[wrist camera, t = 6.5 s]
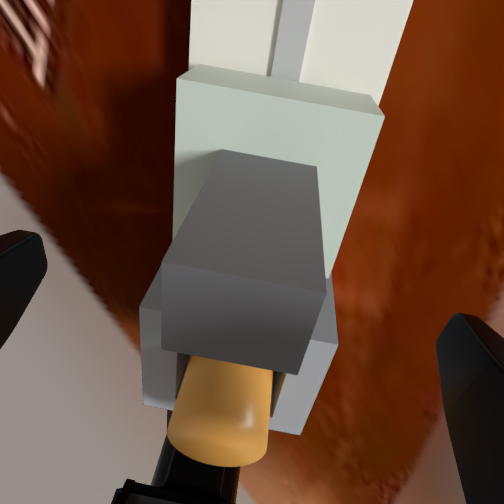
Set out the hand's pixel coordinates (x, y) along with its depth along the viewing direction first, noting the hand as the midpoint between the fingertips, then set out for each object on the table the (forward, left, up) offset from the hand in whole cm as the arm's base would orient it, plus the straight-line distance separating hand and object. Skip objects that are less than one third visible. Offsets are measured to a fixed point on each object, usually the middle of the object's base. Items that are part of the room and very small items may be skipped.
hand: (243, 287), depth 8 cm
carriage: (0, 0, -8) cm, 8 cm away
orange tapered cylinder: (-7, 0, -6) cm, 9 cm away
